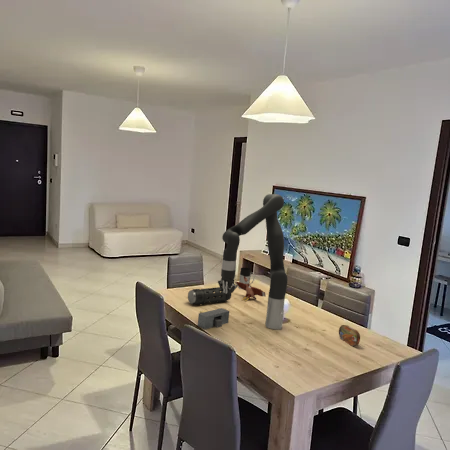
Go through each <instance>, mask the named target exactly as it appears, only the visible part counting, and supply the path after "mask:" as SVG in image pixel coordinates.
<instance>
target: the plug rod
mask: <svg viewBox="0 0 450 450" xmlns="http://www.w3.org/2000/svg"><path fill="white" fill-rule="evenodd" d="M207 311H208V310H207V309H204V310H200V311H199V313H203V312H207ZM214 327H215V328H216V329H217V328H222V327H223V325H222V320H221V319H219V318H217V317H214V322H213V328H214Z"/></svg>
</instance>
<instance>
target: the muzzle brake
mask: <svg viewBox="0 0 450 450" xmlns="http://www.w3.org/2000/svg"><path fill="white" fill-rule="evenodd" d="M222 288H223V287H222ZM231 298H232V293H230V294H229V300H224V292H223V291H221V289H220V286H218V287H209V288H192V289H191V290H189V291H188V293H187V299H188V302H189V304H191V305H199V306H200V304H202V305H204V304H208V303H210V304H213V303H215V304H216V303H225V301H226V302H228V301H230V300H231Z"/></svg>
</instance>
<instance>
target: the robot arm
mask: <svg viewBox="0 0 450 450" xmlns="http://www.w3.org/2000/svg"><path fill="white" fill-rule="evenodd" d="M284 205H285V199H284V198H283V196H282V195H280V194H277V193H274V194H273V193H271V194H270V193H269V194H266V195H265V196H264V197H263V199H262V206H261V208H259V209H257V210H256V211H254V212H252V213H250V214H248V216H246V217H244V218H243V219H242V220H241V221H239V222H238V223H237V224H235V225H233V226H231V227H230V228H228V229H227V230H225V231H224V232H223V234H222V237H221V239H222V241H223V242H224V243H225V244H226V248H224V250H223V253H222V262H221V272H220V277H221V278H220V280H217V283H218V287H220V289H221V291H223V292H224V300H227V301H230V300H229V294H230V293H231V294H233V292H235V290H236V289H237V288H238V286H237V284H236V283H235V277H236V270H237V269H236V268H237V262H236V261H237V252H238V248H239V246H240V242H241V238H240V236H245V235H247V234H248V233H249V232H250V231H251V230H253V229H254V228H255V227H256V226H257V225H259V224H260V223H262V222H263V221H264V220H265V227H266V242H267V250H268V254H269V259H270V260H269V261H270V263H269V264H270V267H269V270H270V271H269V272H270V273H269V279H270V283H269V291H268V298H267V304H266V305H267V307H266V315H265V317H266V318H265V327H266V328H268V329H270V330H282V329H283V322H284V312H285V311H284V310H285V299H286V294H287V286H288V274H287V273H286V270H285V263H284V253H285V238H284V237H285V236H284V231H283V229H282V226H281V224H280V222H279V219H278V212H279V211H280V210H281V209H283V207H284ZM222 287H223V288H222ZM221 291H220V292H221Z"/></svg>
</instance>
